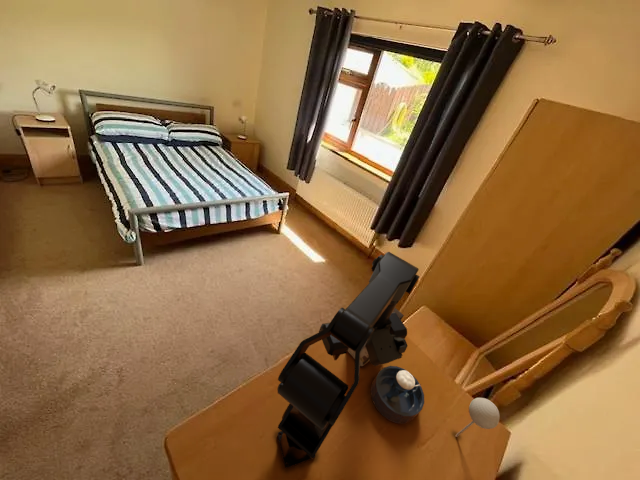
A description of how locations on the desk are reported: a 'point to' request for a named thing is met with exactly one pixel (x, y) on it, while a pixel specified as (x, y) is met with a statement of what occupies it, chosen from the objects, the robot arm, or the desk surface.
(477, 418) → the lollipop
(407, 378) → the milkshake
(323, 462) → the desk surface
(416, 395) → the bowl
